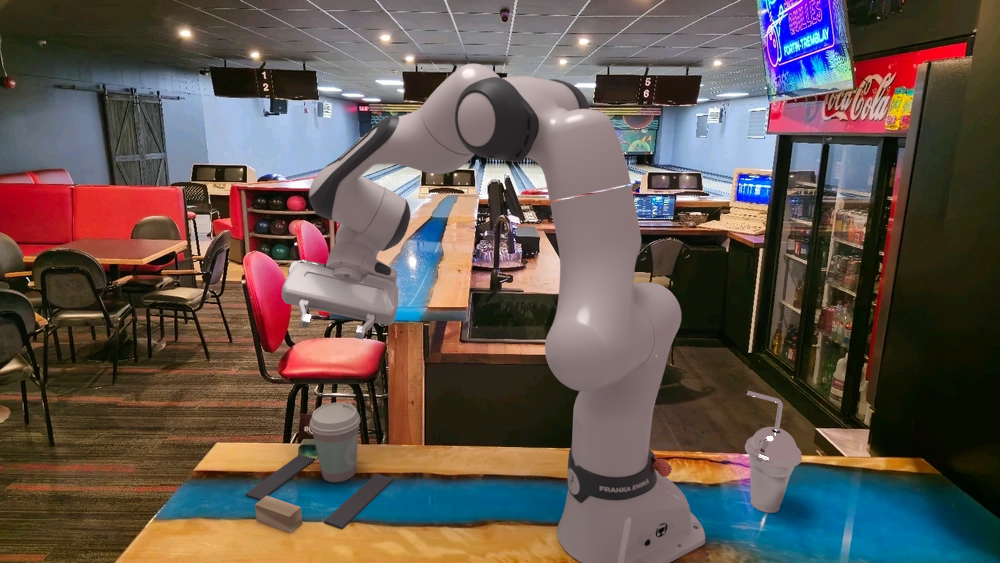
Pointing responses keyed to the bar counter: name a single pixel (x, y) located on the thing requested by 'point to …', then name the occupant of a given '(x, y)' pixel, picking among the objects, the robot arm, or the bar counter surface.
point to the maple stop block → (278, 514)
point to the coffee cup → (336, 440)
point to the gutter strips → (338, 516)
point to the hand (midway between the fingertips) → (331, 331)
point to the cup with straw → (770, 462)
